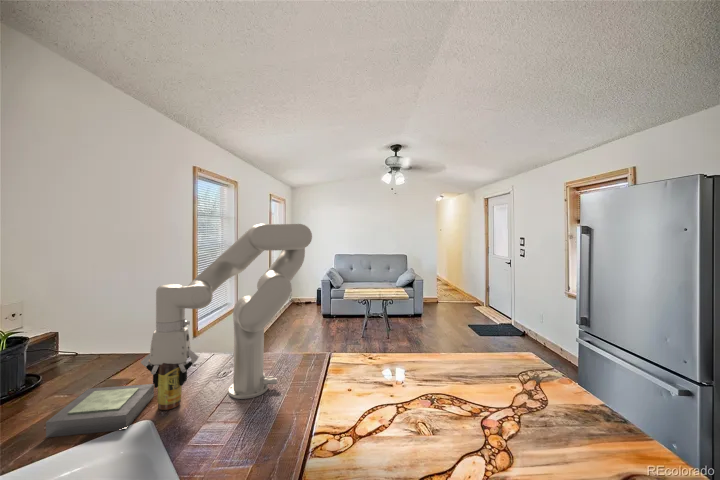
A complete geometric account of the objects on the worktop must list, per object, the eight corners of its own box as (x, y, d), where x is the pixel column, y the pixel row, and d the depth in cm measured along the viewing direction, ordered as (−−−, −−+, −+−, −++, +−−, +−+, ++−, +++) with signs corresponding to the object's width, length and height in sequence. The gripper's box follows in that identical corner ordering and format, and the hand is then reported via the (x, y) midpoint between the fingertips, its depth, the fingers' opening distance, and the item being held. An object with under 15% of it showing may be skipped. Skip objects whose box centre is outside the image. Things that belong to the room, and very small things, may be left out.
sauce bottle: (170, 412, 95) (170, 345, 94) (152, 410, 96) (152, 343, 95) (186, 401, 101) (186, 338, 101) (169, 399, 102) (169, 336, 102)
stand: (153, 396, 104) (153, 382, 104) (126, 429, 86) (126, 413, 86) (88, 401, 100) (88, 387, 100) (45, 437, 82) (45, 420, 82)
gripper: (204, 321, 103) (204, 377, 104) (144, 323, 100) (143, 381, 100) (198, 328, 96) (197, 388, 96) (132, 330, 92) (132, 393, 93)
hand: (170, 384), depth 98 cm, fingers closed on sauce bottle, 6 cm apart
